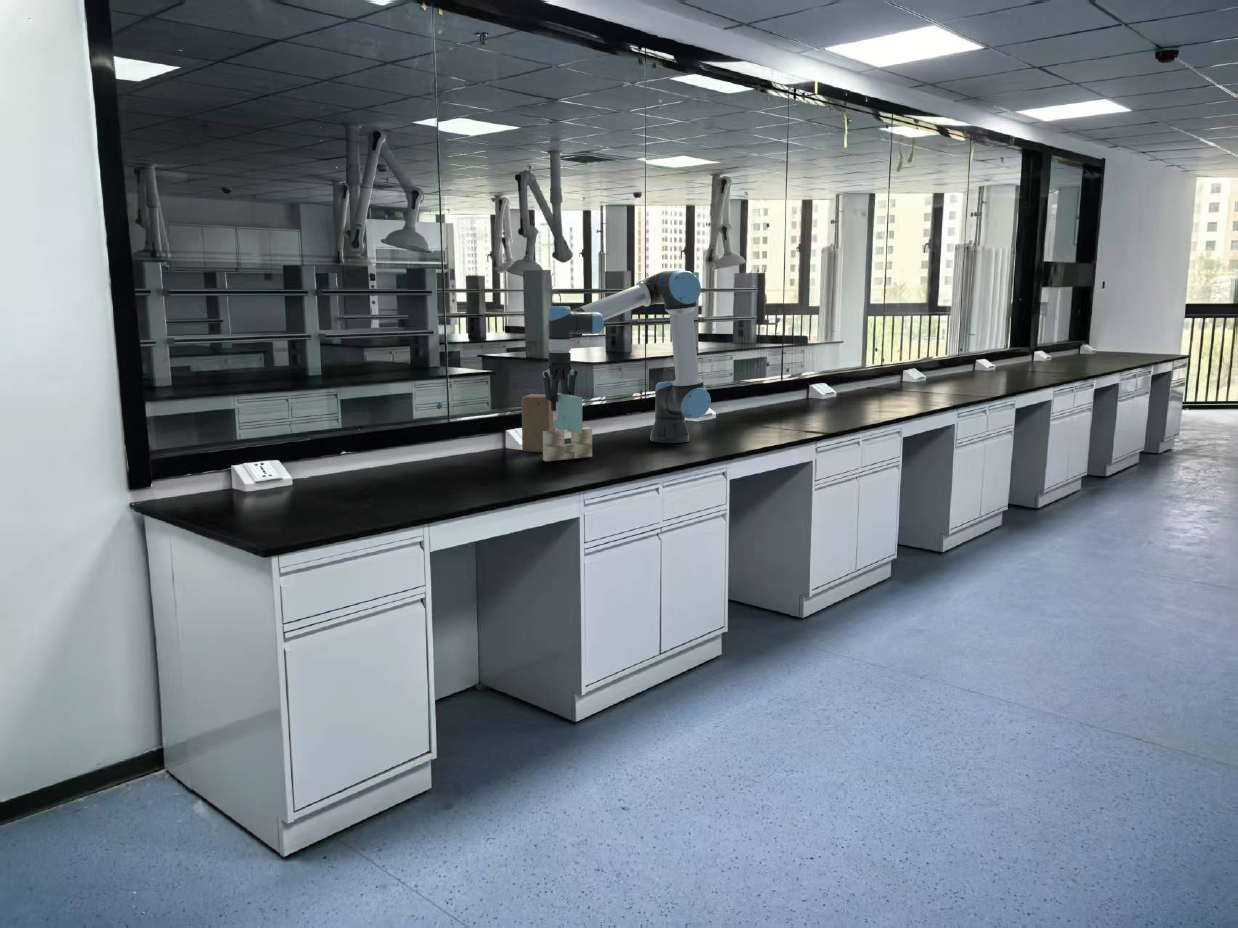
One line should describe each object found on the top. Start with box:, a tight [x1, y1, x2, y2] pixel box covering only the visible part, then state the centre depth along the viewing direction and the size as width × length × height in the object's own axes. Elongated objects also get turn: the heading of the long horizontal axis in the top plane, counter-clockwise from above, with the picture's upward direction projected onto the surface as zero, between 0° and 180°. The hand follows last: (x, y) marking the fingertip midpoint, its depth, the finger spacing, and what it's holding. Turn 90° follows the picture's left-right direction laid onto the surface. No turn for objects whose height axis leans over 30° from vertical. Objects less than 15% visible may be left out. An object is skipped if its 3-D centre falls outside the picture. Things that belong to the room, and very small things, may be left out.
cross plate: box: [553, 392, 583, 434], centre depth 303 cm, size 16×2×12 cm, turn 32°
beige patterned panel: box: [542, 427, 593, 462], centre depth 305 cm, size 18×2×10 cm, turn 122°
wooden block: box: [521, 393, 556, 454], centre depth 320 cm, size 10×10×20 cm
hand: (559, 419), depth 308 cm, fingers closed on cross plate, 2 cm apart
